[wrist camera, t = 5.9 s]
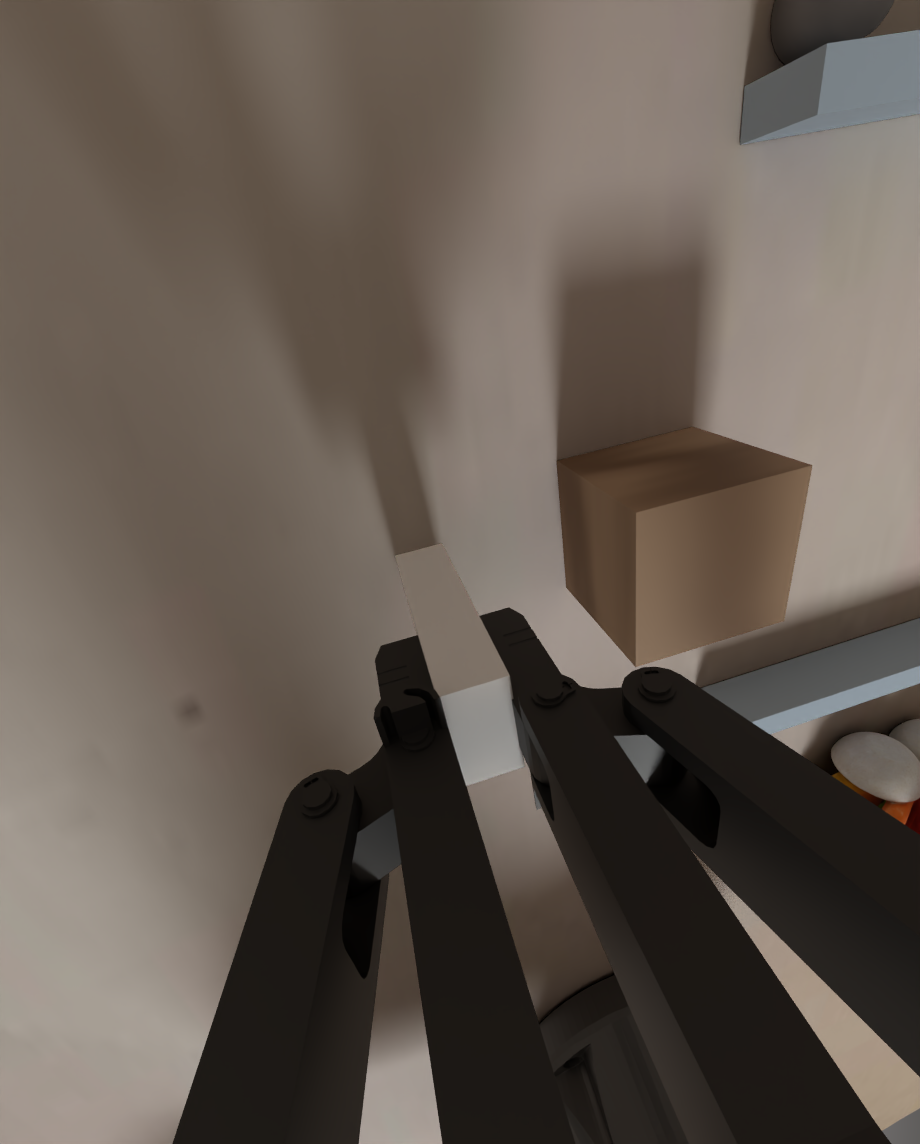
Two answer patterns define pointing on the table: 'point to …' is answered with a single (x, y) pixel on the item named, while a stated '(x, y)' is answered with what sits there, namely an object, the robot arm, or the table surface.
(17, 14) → the table surface
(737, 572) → the walnut block
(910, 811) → the rainbow segmented toy
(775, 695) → the cart frame
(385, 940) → the table surface
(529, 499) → the table surface
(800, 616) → the table surface
